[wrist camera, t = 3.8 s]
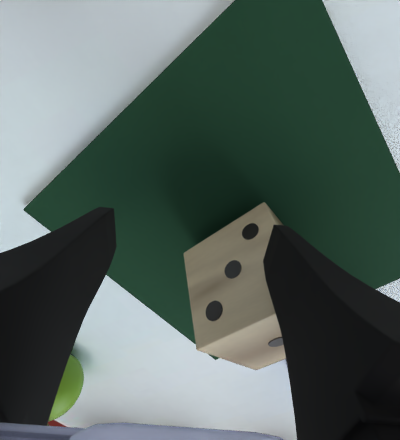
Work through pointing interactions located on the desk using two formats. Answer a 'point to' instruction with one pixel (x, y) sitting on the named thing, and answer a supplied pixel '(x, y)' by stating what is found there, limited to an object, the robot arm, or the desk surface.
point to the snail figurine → (68, 388)
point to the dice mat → (239, 156)
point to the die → (235, 292)
